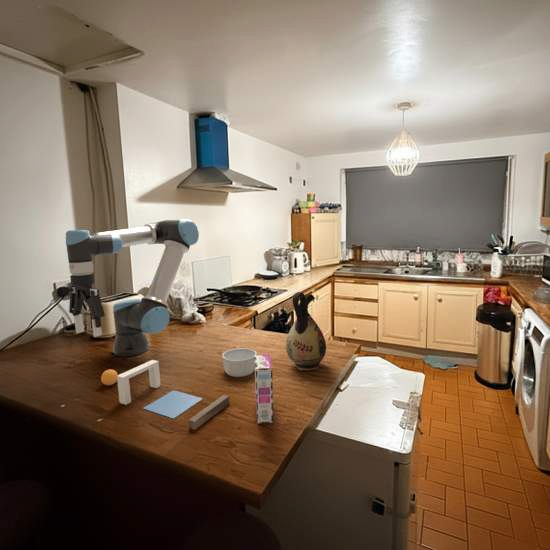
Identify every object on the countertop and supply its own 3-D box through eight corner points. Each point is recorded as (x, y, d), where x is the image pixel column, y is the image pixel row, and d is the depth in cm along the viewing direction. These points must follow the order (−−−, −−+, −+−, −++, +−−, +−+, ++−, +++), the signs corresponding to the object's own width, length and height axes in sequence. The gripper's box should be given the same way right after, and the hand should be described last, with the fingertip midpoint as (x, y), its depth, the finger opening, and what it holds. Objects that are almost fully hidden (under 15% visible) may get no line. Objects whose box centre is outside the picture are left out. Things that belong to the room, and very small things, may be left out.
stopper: (189, 428, 99) (188, 420, 99) (224, 402, 113) (223, 394, 113) (194, 430, 98) (194, 421, 98) (229, 403, 112) (228, 396, 112)
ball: (98, 386, 127) (96, 371, 126) (112, 379, 132) (110, 365, 131) (108, 389, 124) (106, 374, 124) (122, 382, 129) (120, 368, 128)
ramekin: (226, 364, 143) (225, 347, 142) (258, 363, 143) (258, 347, 142) (220, 379, 130) (219, 361, 129) (255, 378, 130) (255, 360, 129)
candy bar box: (274, 423, 101) (272, 368, 98) (256, 424, 100) (254, 369, 98) (271, 403, 112) (269, 353, 109) (255, 404, 111) (253, 354, 109)
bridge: (119, 402, 115) (116, 375, 113) (154, 384, 127) (152, 359, 126) (125, 404, 113) (123, 377, 112) (160, 385, 126) (158, 361, 124)
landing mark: (142, 408, 111) (142, 408, 111) (173, 390, 122) (173, 390, 122) (173, 418, 104) (173, 418, 104) (202, 399, 116) (202, 398, 116)
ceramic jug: (299, 355, 150) (298, 286, 145) (333, 363, 141) (332, 289, 136) (276, 370, 136) (274, 293, 131) (311, 379, 127) (310, 297, 123)
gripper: (53, 273, 129) (60, 333, 132) (91, 276, 118) (98, 341, 121) (73, 270, 135) (80, 327, 139) (111, 273, 124) (117, 334, 128)
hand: (88, 333), depth 130 cm, fingers open, 10 cm apart
